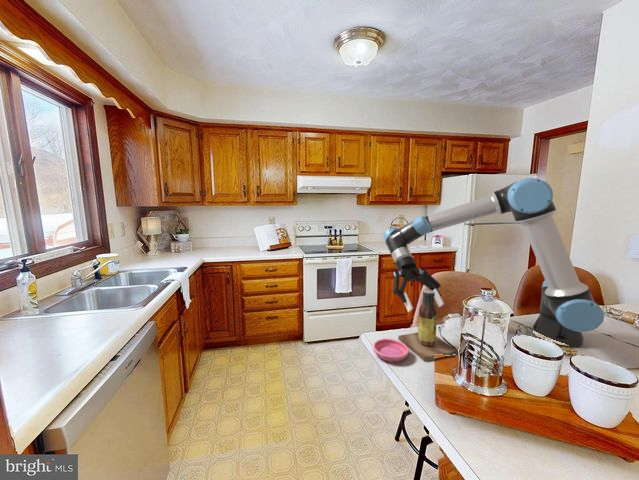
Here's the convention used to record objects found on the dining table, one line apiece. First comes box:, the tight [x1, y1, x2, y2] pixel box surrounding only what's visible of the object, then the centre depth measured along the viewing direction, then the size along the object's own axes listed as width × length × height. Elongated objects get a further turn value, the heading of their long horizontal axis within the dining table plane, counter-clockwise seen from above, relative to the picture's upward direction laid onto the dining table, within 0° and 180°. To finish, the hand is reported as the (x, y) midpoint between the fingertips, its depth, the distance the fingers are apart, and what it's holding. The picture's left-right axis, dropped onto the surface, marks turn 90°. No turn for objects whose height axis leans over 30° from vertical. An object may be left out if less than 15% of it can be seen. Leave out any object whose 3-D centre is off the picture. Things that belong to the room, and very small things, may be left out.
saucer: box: [372, 338, 410, 363], centre depth 97 cm, size 12×12×3 cm
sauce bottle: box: [417, 289, 438, 346], centre depth 101 cm, size 6×6×20 cm
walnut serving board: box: [397, 331, 459, 362], centre depth 102 cm, size 14×16×2 cm
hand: (426, 308), depth 100 cm, fingers open, 13 cm apart
